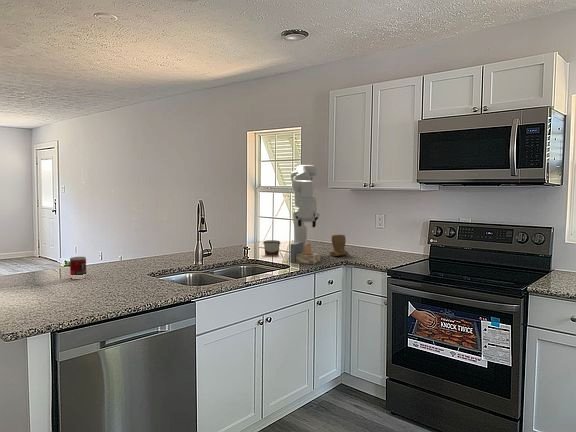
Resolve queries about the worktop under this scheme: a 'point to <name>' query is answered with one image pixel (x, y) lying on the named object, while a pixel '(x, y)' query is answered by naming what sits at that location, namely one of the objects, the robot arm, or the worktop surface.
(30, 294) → the worktop surface
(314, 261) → the beige square ring
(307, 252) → the dowel
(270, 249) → the food container
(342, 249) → the brown chunky piece
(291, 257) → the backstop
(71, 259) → the canned food
